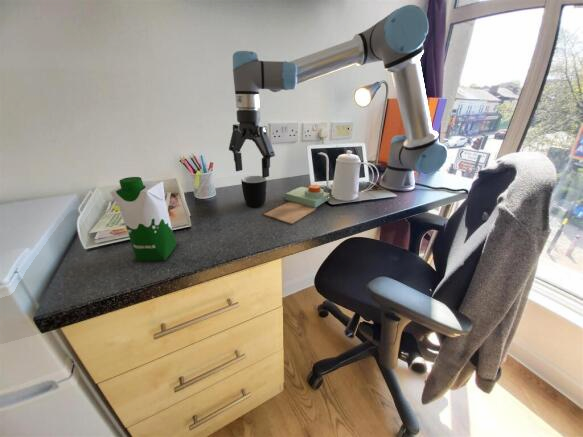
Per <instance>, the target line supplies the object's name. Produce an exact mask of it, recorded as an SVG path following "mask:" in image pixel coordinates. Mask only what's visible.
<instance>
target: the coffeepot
mask: <svg viewBox="0 0 583 437" xmlns="http://www.w3.org/2000/svg"><path fill="white" fill-rule="evenodd" d="M317 155H321V156H324V157H325V164H326V166H325V167H326V168H325V169H326V172H325V173H326V177H325V178H326V187H328V188H329V189H330V190H331V193H330V195H331V196H332V195H333V196H332V197H333V198H334V199H335V200H338V201H343V202H344V201H345V202H349V201H355V200H356V199H357V198H358V197H359V196H360V195H359V194H363V193H365V192H368V191H370V190H371V189H372V188H373V187H374V186H375V185H376V184H377V182H378V180H379V176H380V172H379V169H378V168H377V166H376V165H374V164H373V163H371V162H368V161H367V162H366V161H363V162H361V158H360V156H359V155H358V154H353V150H349V149H348V150H346V153H342V154H339V155H338V156H337V158H336V159H335V160H336V161H335V168H334V175H333V181H332V186H331V184H330V183H329V182H330V181H329V176H330V175H329V172H330V171H329V170H330V169H329V163H330V162H329V156H328V155H327V153H325V152H322V151H321V152H318V153H317ZM361 165H366V166H367V167H369V168H370V171H371V172H372V179H371V183H370V185H368V187H366V188H365V189H364V190H361V191H359V188H360V187H359V186H360V172H361V170H360V169H361ZM373 168H374V169H375V170H376V173H377V176H376V180H375V182H374V178H375V173H374V169H373ZM373 182H374V184H373ZM372 184H373V185H372ZM371 185H372V186H371Z"/></svg>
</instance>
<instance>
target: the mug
mask: <svg viewBox="0 0 583 437" xmlns="http://www.w3.org/2000/svg"><path fill="white" fill-rule="evenodd" d="M240 183H241V189H242V194H243V197H244V202H245V204H246V206H247V207H248V208H252V209H259V208H261V207H263V206H264V205H265V203H266V197H267V177H265V178H262V175H247V176H244V177H242V178H241V182H240Z"/></svg>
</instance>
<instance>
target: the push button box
mask: <svg viewBox="0 0 583 437" xmlns="http://www.w3.org/2000/svg"><path fill="white" fill-rule="evenodd" d="M284 195H285V197H284V198H285V200H286V201H288V202H289V201H291V202H294V203H298V204H302V205H305V206H309V207H312V208H316V209H317V208H318V207H319V206H321V205H323V204H325V203H326V202H327V201H329V200H330V195H331V193H330V192H326V191H325V190H324V189H322V188H320V192H317V193H312V192H309V187H305V186H299V187H297V188H295V189H292V190H290V191H288V192H285V194H284ZM328 197H329V198H328ZM326 198H327V199H326Z"/></svg>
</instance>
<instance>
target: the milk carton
mask: <svg viewBox="0 0 583 437" xmlns="http://www.w3.org/2000/svg"><path fill="white" fill-rule="evenodd" d="M118 183H119V185H120V186H118V187H116V188H114V189H112V190H110V195H111V196H112V198H113V200H114V201H115V203H116V204H117V206H118V208H119V211H120V215H121V217H122V220H123V223H124V226H125V228H126V232H127V235H128V238H129V240H130V244H131V248H132V251H133V254H134V258H135V261H136V262H143V261H146V262H150V261H152V262H153V261H155V262H156V261H166V260H167V259H168V257H169V256H170V255H171V253H172V252H173V251H174V249H175V248H176V247H177V245H178V243H177V241H176V237H175V234H174V231H173V227H172V222H171V217H170V214H169V209H168V205H167V201H166V197H165V196H166V194H165V186H164V180H143V179H142V177H140V176H129V177H124V178H121V179H119V182H118Z"/></svg>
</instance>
